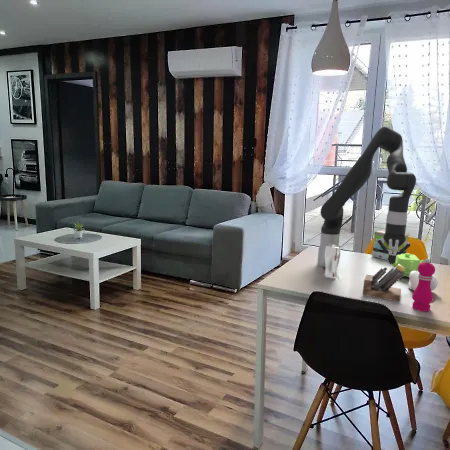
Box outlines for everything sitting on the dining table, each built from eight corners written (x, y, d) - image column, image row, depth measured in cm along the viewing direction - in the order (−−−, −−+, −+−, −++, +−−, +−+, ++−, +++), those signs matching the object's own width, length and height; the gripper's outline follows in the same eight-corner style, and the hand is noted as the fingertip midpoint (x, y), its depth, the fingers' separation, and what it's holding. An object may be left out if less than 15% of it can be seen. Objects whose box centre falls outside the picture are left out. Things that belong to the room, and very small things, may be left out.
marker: (377, 285, 174) (398, 264, 169) (378, 282, 177) (398, 262, 172) (383, 290, 173) (404, 270, 169) (384, 288, 176) (405, 268, 172)
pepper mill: (407, 304, 165) (413, 255, 161) (424, 304, 166) (431, 256, 162) (417, 312, 158) (423, 261, 154) (435, 312, 159) (442, 261, 155)
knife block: (362, 294, 174) (365, 268, 172) (365, 288, 182) (367, 263, 180) (401, 301, 168) (404, 274, 166) (402, 294, 176) (405, 268, 174)
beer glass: (339, 275, 198) (342, 245, 195) (336, 279, 192) (339, 248, 189) (324, 273, 201) (327, 243, 198) (321, 277, 195) (324, 246, 192)
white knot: (399, 286, 187) (401, 266, 185) (425, 286, 188) (427, 267, 186) (412, 295, 176) (414, 275, 174) (439, 295, 177) (442, 275, 175)
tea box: (371, 256, 234) (374, 231, 231) (380, 254, 241) (382, 229, 238) (397, 263, 223) (400, 236, 220) (405, 260, 230) (409, 233, 227)
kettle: (409, 282, 192) (412, 259, 190) (382, 274, 203) (385, 252, 201) (427, 277, 200) (430, 254, 198) (400, 269, 212) (402, 248, 210)
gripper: (414, 222, 169) (409, 263, 172) (379, 218, 174) (375, 259, 178) (414, 225, 162) (408, 268, 166) (378, 221, 168) (373, 263, 171)
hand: (391, 263), depth 172 cm, fingers closed
